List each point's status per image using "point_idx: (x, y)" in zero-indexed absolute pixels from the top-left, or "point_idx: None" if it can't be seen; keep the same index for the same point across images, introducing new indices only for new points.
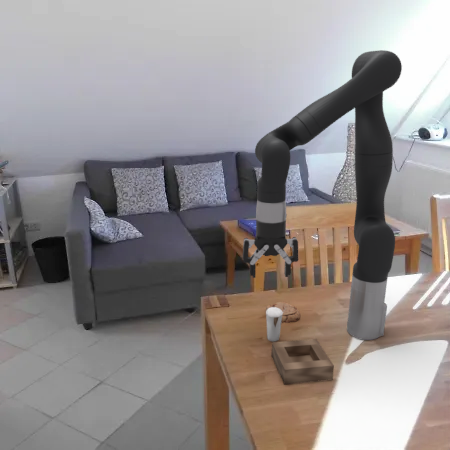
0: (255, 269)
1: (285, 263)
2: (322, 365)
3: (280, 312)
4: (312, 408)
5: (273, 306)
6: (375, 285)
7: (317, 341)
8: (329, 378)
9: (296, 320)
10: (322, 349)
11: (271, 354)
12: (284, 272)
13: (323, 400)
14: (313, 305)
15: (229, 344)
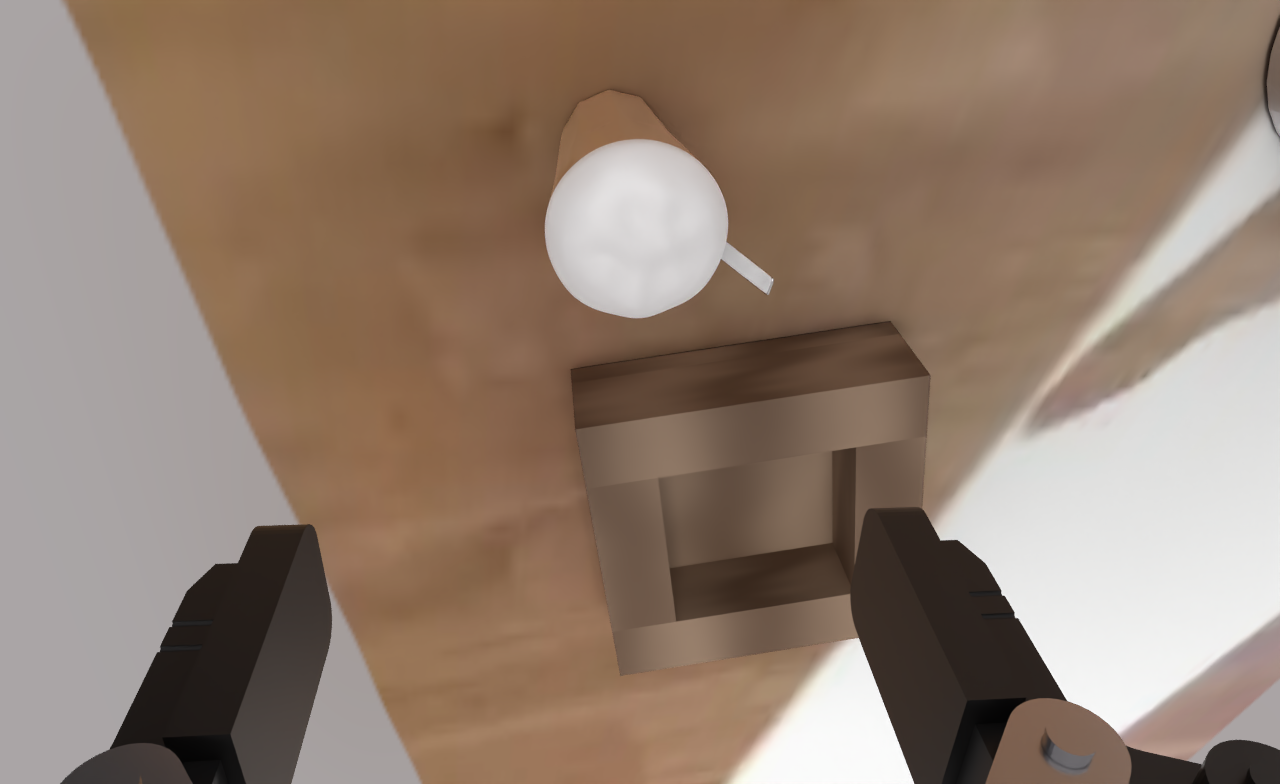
0: (293, 771)
1: (941, 774)
2: (849, 633)
3: (698, 278)
4: (714, 725)
5: None
6: None
7: (921, 409)
8: None
9: None
10: (915, 494)
11: (571, 377)
12: (879, 520)
13: (779, 684)
14: None
15: (239, 229)
